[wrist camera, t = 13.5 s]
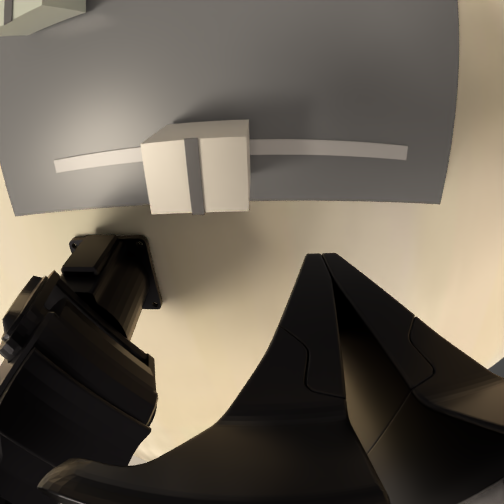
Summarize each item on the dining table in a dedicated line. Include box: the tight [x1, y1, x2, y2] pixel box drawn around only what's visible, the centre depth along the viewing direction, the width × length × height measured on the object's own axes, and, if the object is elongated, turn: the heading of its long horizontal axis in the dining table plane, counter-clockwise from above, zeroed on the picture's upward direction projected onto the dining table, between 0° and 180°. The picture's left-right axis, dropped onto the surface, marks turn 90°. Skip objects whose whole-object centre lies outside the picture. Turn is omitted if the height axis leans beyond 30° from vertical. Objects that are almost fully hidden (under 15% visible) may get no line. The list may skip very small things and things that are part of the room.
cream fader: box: [140, 119, 251, 215], centre depth 13 cm, size 3×4×4 cm
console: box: [0, 0, 459, 216], centre depth 14 cm, size 16×28×3 cm, turn 91°
